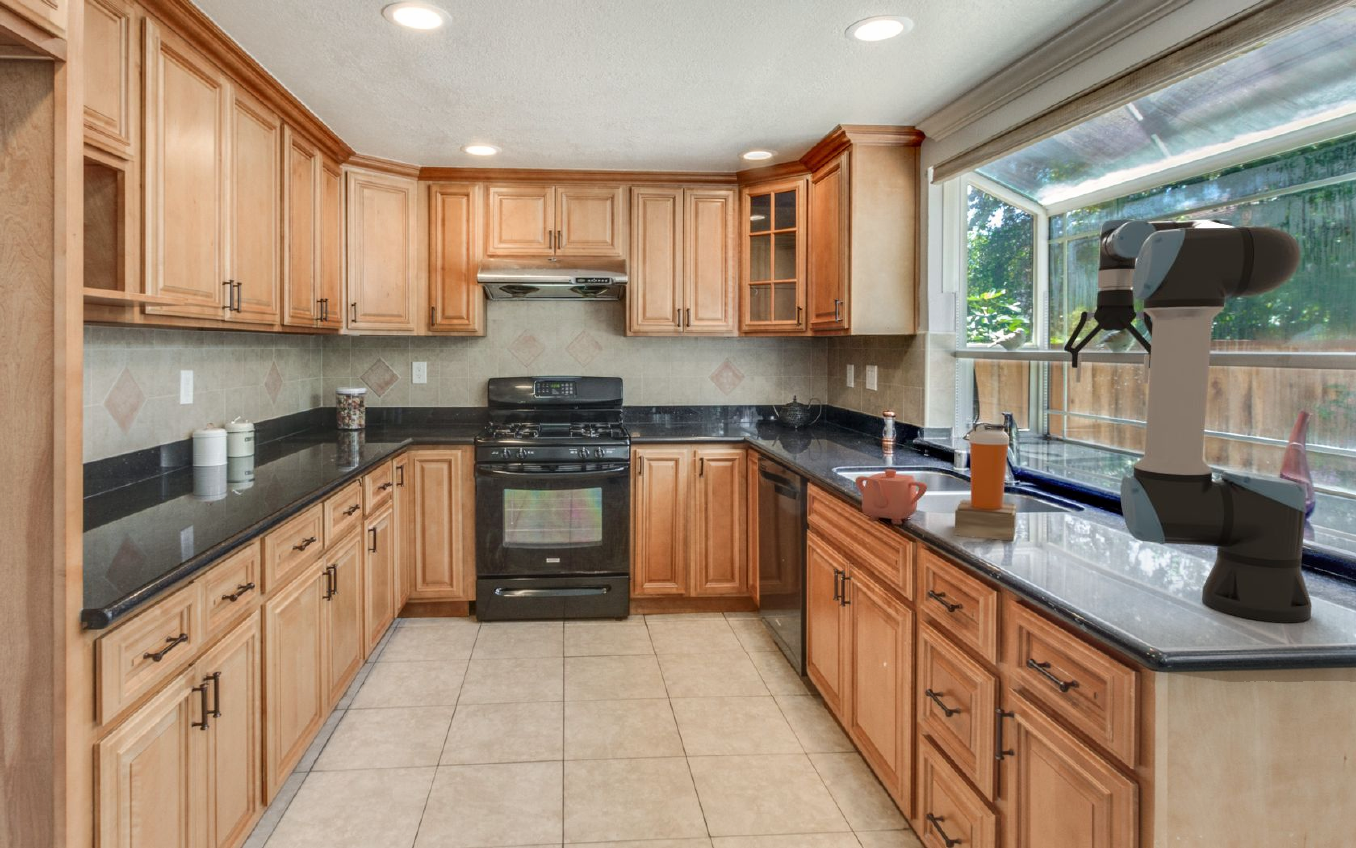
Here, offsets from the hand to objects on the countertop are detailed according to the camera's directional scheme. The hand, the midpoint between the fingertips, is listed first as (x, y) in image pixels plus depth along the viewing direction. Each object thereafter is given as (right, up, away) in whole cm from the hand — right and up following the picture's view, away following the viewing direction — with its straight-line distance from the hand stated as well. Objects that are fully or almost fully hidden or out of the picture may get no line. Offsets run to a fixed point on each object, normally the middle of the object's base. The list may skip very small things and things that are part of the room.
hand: (1111, 382), depth 180 cm
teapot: (-45, -35, +24) cm, 62 cm away
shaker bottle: (-25, -30, +9) cm, 40 cm away
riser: (-25, -36, +10) cm, 45 cm away
